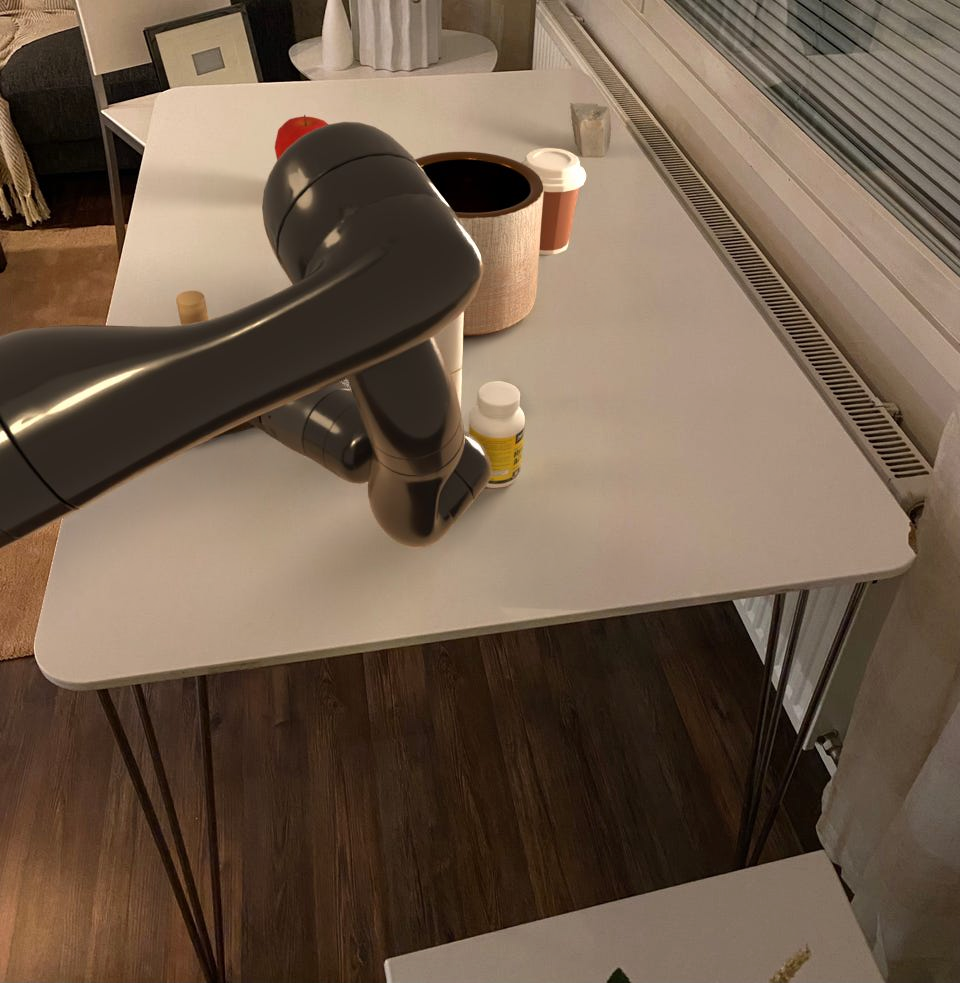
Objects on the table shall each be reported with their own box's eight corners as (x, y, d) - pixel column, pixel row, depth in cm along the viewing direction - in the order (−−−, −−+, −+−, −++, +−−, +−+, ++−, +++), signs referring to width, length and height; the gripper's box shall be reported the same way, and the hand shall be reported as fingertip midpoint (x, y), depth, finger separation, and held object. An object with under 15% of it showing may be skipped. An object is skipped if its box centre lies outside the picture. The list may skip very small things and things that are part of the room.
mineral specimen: (554, 140, 157) (569, 90, 152) (604, 151, 159) (620, 102, 154) (562, 157, 152) (578, 106, 147) (613, 168, 154) (630, 118, 149)
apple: (356, 197, 141) (352, 115, 133) (308, 217, 136) (300, 132, 128) (315, 177, 145) (309, 96, 137) (267, 195, 140) (257, 112, 132)
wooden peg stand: (195, 427, 97) (171, 315, 88) (182, 401, 100) (158, 290, 91) (241, 414, 99) (222, 304, 90) (227, 389, 102) (208, 280, 93)
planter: (436, 356, 112) (437, 231, 101) (368, 285, 123) (363, 166, 112) (562, 318, 119) (576, 197, 108) (488, 254, 130) (493, 139, 119)
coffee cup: (588, 238, 134) (598, 153, 126) (561, 266, 128) (570, 179, 120) (528, 222, 137) (535, 138, 129) (500, 248, 131) (505, 163, 123)
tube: (447, 423, 102) (449, 299, 92) (413, 409, 104) (412, 286, 94) (468, 402, 105) (472, 280, 95) (435, 389, 107) (436, 268, 97)
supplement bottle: (520, 491, 95) (527, 411, 88) (465, 488, 95) (468, 409, 88) (520, 455, 99) (526, 377, 92) (467, 453, 99) (470, 374, 92)
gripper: (351, 338, 89) (230, 272, 97) (230, 405, 81) (110, 328, 89) (355, 403, 94) (240, 336, 102) (242, 472, 86) (127, 394, 94)
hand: (180, 332), depth 96 cm, fingers closed on wooden peg stand, 2 cm apart
